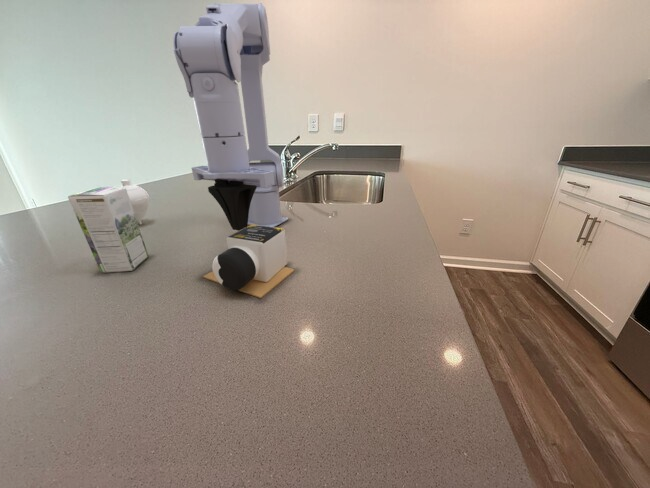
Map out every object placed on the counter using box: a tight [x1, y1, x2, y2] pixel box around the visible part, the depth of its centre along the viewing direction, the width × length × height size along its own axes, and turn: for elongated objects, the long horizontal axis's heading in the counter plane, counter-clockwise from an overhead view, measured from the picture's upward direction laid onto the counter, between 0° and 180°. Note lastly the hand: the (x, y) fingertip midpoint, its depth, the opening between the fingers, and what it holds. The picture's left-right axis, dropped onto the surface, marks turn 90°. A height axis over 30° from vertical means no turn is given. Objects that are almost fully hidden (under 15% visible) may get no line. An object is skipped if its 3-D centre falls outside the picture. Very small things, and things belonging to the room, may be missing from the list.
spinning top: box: [120, 179, 151, 225], centre depth 67 cm, size 8×8×12 cm
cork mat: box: [202, 266, 295, 299], centre depth 45 cm, size 13×9×1 cm
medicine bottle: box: [211, 225, 288, 291], centre depth 43 cm, size 7×7×12 cm
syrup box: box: [67, 186, 149, 274], centre depth 46 cm, size 6×6×14 cm
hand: (240, 228), depth 41 cm, fingers closed
